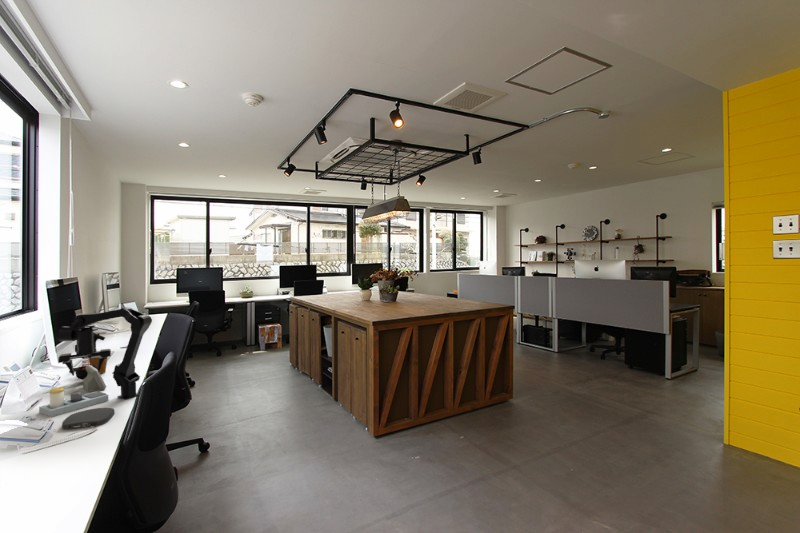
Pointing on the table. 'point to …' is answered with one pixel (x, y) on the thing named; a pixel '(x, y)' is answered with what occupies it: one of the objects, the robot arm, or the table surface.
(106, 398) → the housing
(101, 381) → the grey triangular stone
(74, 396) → the plunger
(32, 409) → the table surface
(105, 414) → the media streaming box
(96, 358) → the disposable coffee cup
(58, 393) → the cartridge
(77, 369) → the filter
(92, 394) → the pad
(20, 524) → the table surface
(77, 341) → the robot arm
